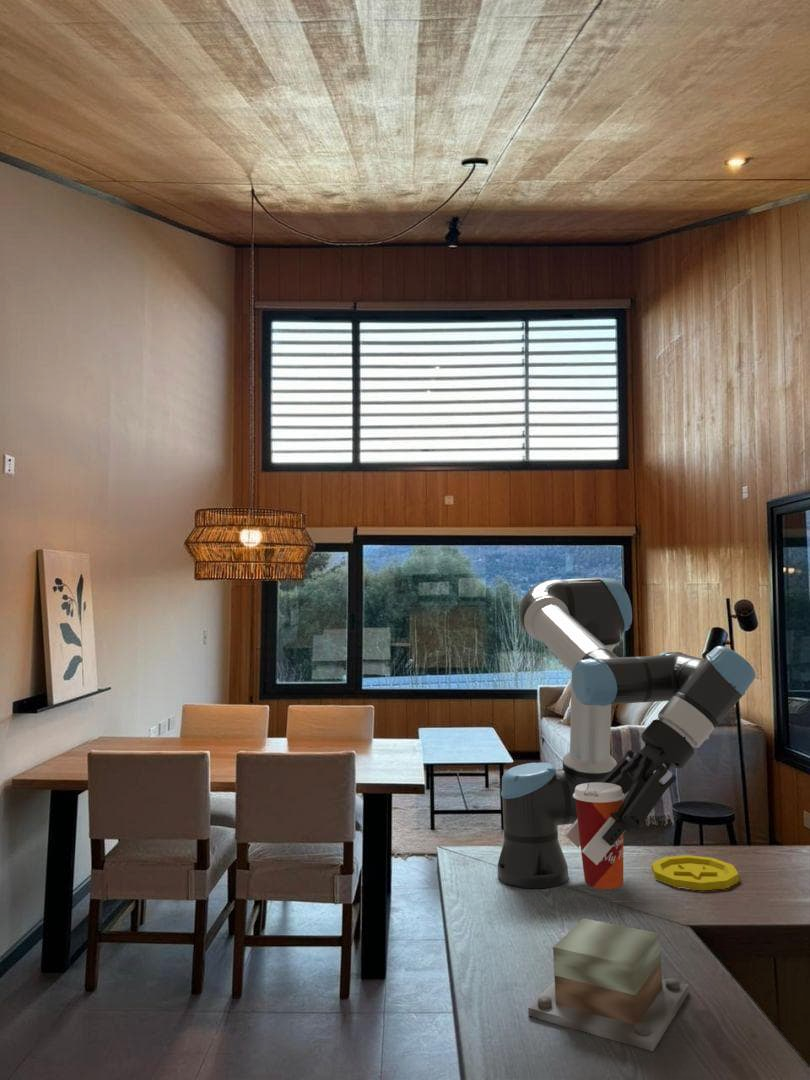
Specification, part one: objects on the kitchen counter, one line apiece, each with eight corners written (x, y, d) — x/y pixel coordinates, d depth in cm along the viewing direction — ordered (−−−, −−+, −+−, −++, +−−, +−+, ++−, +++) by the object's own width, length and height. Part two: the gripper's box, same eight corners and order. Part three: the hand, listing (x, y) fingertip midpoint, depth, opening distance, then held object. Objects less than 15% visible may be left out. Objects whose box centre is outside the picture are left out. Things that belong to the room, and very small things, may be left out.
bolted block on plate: (528, 1016, 116) (525, 950, 116) (576, 966, 130) (572, 908, 131) (652, 1051, 106) (648, 979, 106) (688, 992, 120) (684, 930, 121)
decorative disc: (637, 880, 169) (636, 870, 169) (678, 859, 181) (677, 850, 182) (713, 899, 157) (712, 888, 157) (751, 875, 169) (751, 866, 169)
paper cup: (621, 895, 114) (615, 795, 115) (570, 887, 118) (564, 790, 119) (637, 877, 121) (631, 783, 122) (588, 870, 125) (582, 779, 126)
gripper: (727, 763, 112) (623, 890, 109) (665, 739, 133) (576, 845, 130) (688, 727, 112) (584, 853, 109) (632, 708, 132) (542, 814, 130)
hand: (580, 849), depth 119 cm, fingers closed on paper cup, 8 cm apart
